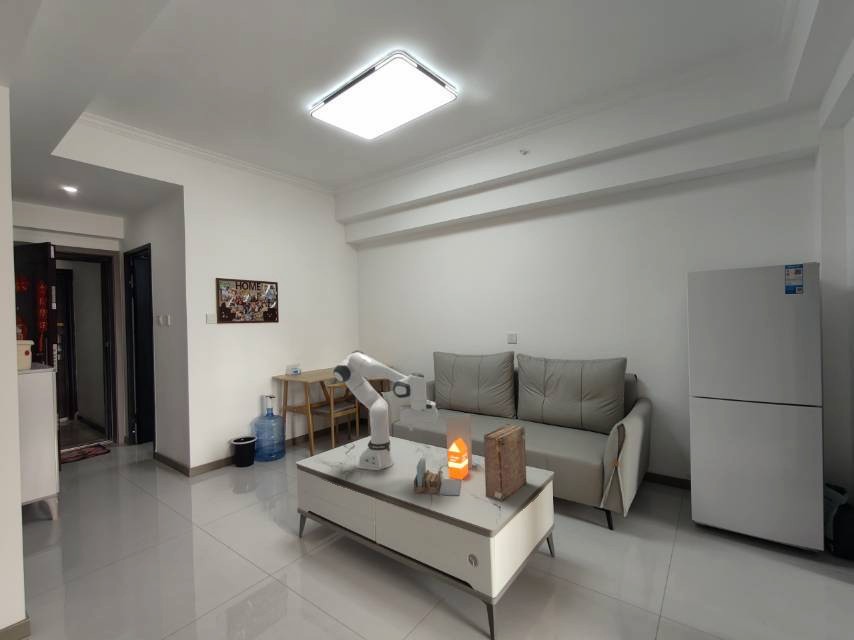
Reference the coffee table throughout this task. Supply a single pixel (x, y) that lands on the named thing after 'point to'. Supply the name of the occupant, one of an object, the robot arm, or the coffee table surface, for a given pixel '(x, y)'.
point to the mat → (450, 487)
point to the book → (504, 461)
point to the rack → (427, 489)
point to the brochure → (459, 432)
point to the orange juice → (458, 460)
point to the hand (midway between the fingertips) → (419, 430)
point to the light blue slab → (421, 472)
